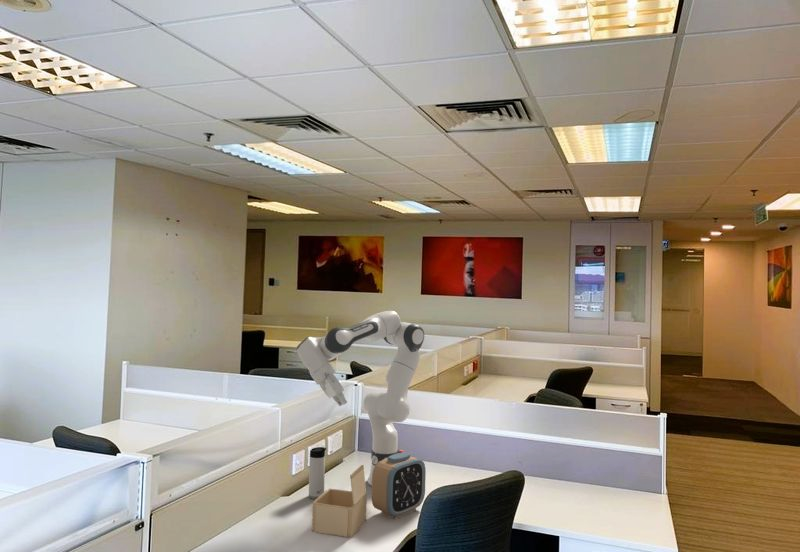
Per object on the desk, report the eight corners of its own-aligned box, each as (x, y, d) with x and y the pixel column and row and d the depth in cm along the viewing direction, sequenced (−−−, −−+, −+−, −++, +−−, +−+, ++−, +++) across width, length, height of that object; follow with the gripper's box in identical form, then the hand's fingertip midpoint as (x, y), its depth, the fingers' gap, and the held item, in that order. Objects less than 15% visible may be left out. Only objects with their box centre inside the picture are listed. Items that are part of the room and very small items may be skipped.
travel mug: (321, 500, 229) (323, 450, 229) (306, 498, 230) (307, 449, 230) (326, 494, 235) (328, 446, 235) (311, 492, 236) (313, 444, 237)
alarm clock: (389, 523, 209) (390, 464, 209) (371, 515, 215) (372, 458, 215) (425, 508, 224) (426, 453, 224) (407, 501, 230) (408, 447, 230)
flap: (353, 504, 198) (350, 475, 198) (364, 492, 210) (361, 464, 210) (354, 504, 198) (351, 475, 198) (366, 492, 209) (363, 464, 210)
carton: (327, 514, 216) (328, 487, 216) (366, 519, 211) (367, 492, 211) (309, 531, 200) (310, 503, 200) (351, 538, 196) (351, 509, 196)
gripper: (334, 367, 216) (354, 398, 215) (327, 373, 235) (345, 401, 234) (320, 376, 214) (340, 407, 213) (314, 381, 233) (332, 410, 232)
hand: (343, 404), depth 223 cm, fingers open, 8 cm apart
